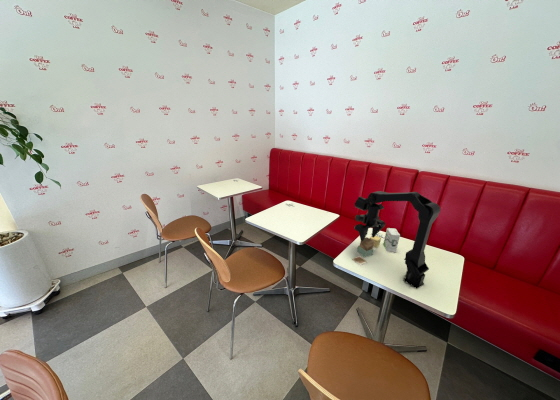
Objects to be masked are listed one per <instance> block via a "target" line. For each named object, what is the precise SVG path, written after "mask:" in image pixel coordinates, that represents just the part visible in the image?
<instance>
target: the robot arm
mask: <svg viewBox="0 0 560 400" xmlns="http://www.w3.org/2000/svg"><path fill="white" fill-rule="evenodd" d="M384 202H409V203H411V205H412V207H413V209H414V210H416V211H417V212H418V214H417V217H418V221H419V223H418V228H417V230H416V234H415V235H416V236H415V238H414V242H413V246H412V249H410V250H408V251H407V252H405V258H403V260H404V264H405V266H406V272H405V275H404V278H403V281H404V282H405V283H407V284H409V285H410V286H411V287H413V288H414V289H419V288H420V287H422V286H423V285H424V284H425V282H424V280H425V277H426V272H428V271H429V270H430V268H429V267H428V265H427V264H426V254H425V249H426V246H427V242H428V239H429V237H430V236H429V235H430V232H431V228H432V225H433V223H434V222H435V221H436V219H437V218H438V217H439V214H441V213H440V212H441V206H439V204H438V203H436V202H433V201H432V200H431V199H429V198H428V197H425V196H424V195H422V194H421V193H419V192H417V191H413V192H412V191H411V192H410V191H409V192H407V191H406V192H386V191H380V190H378V191H373V192H370V193H369V194H368V196H367V197H366V198H365V197H364V196H358V197H357V199H356V200H355V202H354V208H357V209H359V210H361V211H364V212H366V214H356V215H355V217H354V220H355V221H356V222H362V223H358V224H356V225H354V228H353V229H354V230H355V231H356V232H358V235H359V238H360V242H361V241H363V240H364V239H365V238H366V237H367V235H368V231H369V229H371V228H372V231H371V236H372V237H375V236H377V234H379V232H380V231H381V230H383V229H384V228H385V227H386V221H384V220H382V219H380V218H381V217H380V216H379V213H380V211H381V210H384V209H385V207H384V205H383V204H382V203H384ZM379 203H380V204H379ZM364 224H365V225H364Z"/></svg>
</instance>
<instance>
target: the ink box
mask: <svg viewBox="0 0 560 400" xmlns="http://www.w3.org/2000/svg"><path fill="white" fill-rule="evenodd" d="M400 237H401V234H400V233H399V232H398V230H397V228H390V227H387V228H386V232H385V235H384V240H383V243H382V244H383V247H384V248H385V251H386V252H387V253H396V252H397V248H398V246H399V245H398V244H399V240H400Z"/></svg>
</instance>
